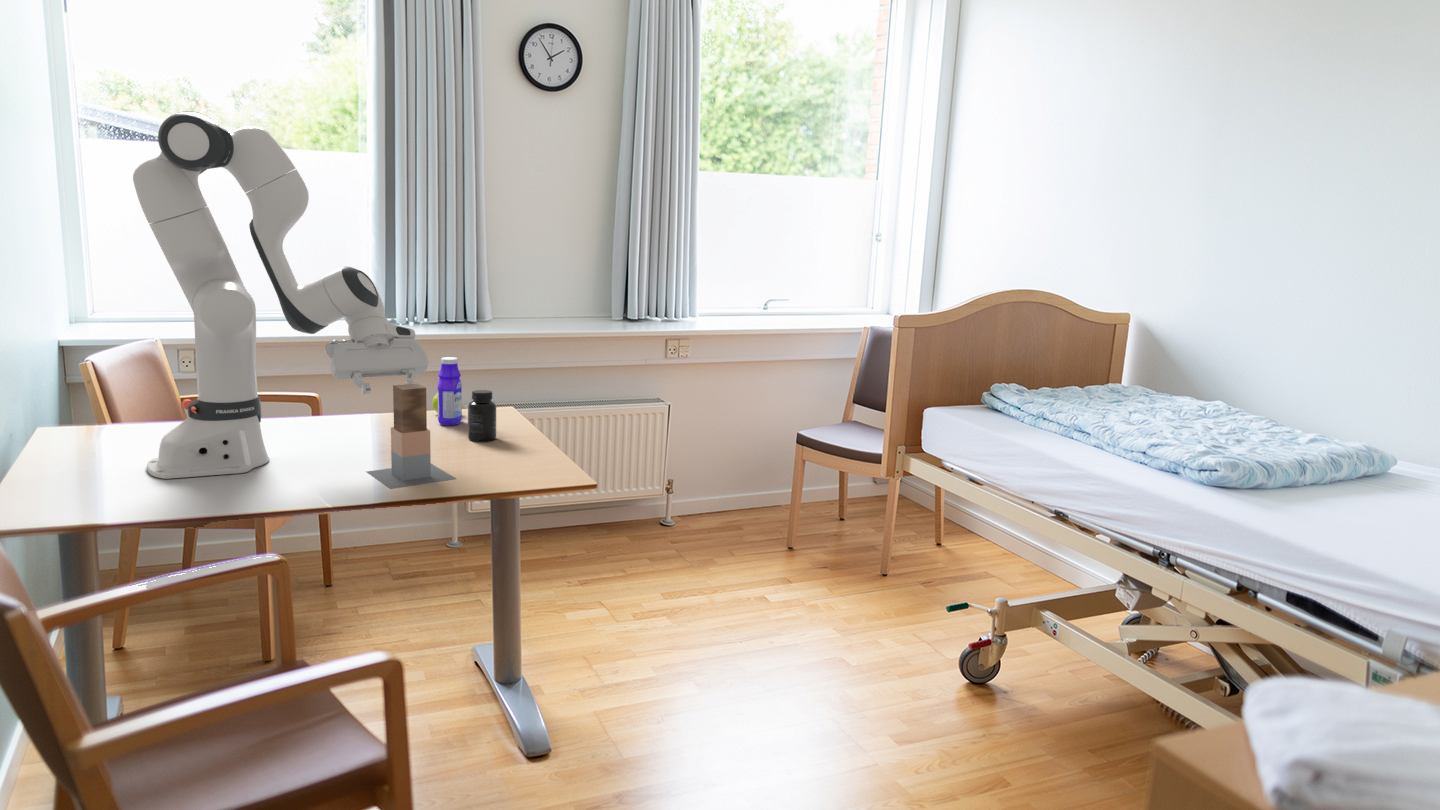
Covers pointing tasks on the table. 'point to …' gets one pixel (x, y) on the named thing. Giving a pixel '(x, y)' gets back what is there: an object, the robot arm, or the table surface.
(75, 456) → the table surface
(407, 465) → the tower bottom
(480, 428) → the supplement bottle
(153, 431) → the table surface
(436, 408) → the tennis ball
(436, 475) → the rubber mat
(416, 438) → the tower top
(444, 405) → the bottle
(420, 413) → the walnut post
